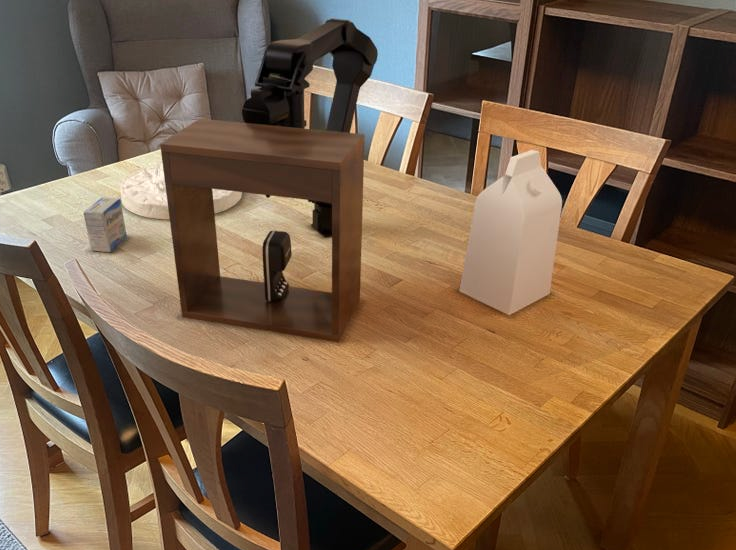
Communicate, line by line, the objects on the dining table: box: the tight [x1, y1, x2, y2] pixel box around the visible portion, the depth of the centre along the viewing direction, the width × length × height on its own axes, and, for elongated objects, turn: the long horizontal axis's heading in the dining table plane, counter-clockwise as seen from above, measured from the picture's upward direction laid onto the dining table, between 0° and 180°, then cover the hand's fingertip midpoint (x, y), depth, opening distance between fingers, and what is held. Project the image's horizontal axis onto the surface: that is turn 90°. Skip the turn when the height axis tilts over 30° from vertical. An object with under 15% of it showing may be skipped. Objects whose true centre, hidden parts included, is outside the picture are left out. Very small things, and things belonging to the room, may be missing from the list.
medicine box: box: [83, 197, 128, 253], centre depth 150 cm, size 8×4×9 cm, turn 168°
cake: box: [119, 161, 243, 220], centre depth 172 cm, size 28×28×10 cm
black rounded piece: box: [261, 229, 293, 301], centre depth 130 cm, size 7×4×11 cm, turn 170°
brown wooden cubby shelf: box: [159, 118, 365, 343], centre depth 122 cm, size 14×28×30 cm, turn 74°
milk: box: [458, 149, 563, 316], centre depth 129 cm, size 12×12×26 cm
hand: (291, 199), depth 142 cm, fingers open, 9 cm apart
